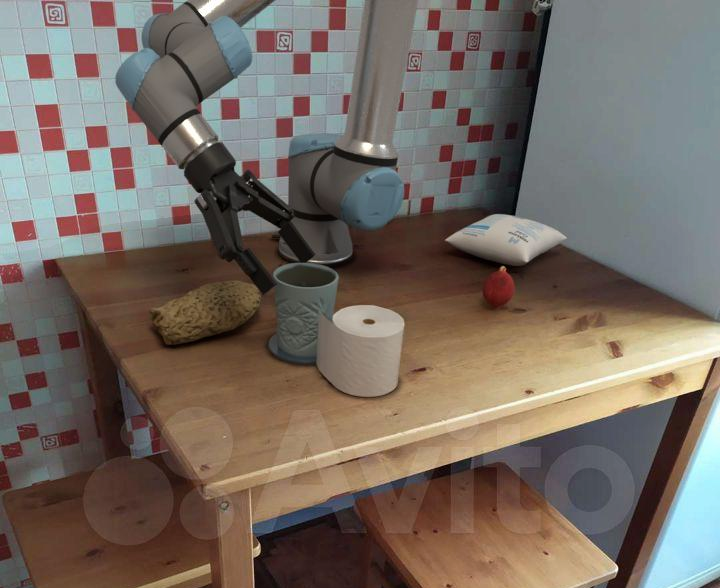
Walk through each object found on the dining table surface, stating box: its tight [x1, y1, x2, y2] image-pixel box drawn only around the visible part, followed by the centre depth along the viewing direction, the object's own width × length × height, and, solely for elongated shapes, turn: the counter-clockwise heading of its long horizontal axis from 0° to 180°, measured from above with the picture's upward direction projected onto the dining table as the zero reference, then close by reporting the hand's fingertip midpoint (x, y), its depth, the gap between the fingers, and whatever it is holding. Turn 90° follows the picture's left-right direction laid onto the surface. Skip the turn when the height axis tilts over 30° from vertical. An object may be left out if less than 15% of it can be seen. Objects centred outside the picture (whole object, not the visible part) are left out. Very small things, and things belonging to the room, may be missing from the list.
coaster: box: [268, 333, 317, 366], centre depth 124 cm, size 12×12×1 cm
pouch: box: [444, 213, 568, 267], centre depth 161 cm, size 8×19×20 cm
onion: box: [482, 265, 515, 309], centre depth 140 cm, size 6×6×8 cm
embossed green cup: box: [272, 262, 339, 358], centre depth 120 cm, size 10×10×12 cm
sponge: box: [148, 279, 262, 346], centre depth 125 cm, size 13×8×20 cm
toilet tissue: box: [315, 304, 406, 398], centre depth 114 cm, size 11×12×10 cm
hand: (290, 274), depth 117 cm, fingers open, 13 cm apart
